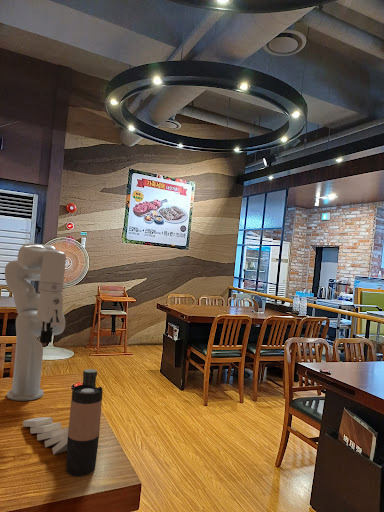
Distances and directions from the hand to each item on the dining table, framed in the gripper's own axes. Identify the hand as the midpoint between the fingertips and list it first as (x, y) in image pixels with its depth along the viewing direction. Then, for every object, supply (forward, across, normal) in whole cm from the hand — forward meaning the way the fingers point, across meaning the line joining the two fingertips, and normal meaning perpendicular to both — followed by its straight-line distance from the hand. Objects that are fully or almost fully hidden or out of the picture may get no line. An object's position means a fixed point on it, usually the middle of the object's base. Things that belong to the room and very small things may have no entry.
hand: (45, 342), depth 127 cm
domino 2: (+23, -12, +5) cm, 26 cm away
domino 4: (+23, -23, +5) cm, 32 cm away
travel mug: (+23, -38, +4) cm, 45 cm away
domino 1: (+23, -6, +5) cm, 24 cm away
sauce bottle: (+24, -24, -4) cm, 34 cm away
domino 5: (+23, -27, +4) cm, 36 cm away
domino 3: (+23, -18, +5) cm, 29 cm away
